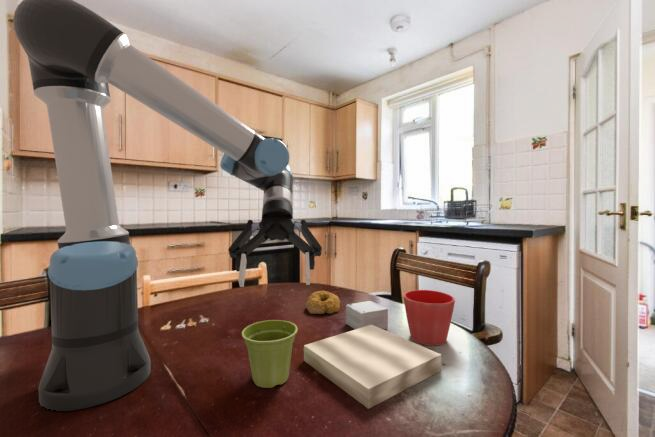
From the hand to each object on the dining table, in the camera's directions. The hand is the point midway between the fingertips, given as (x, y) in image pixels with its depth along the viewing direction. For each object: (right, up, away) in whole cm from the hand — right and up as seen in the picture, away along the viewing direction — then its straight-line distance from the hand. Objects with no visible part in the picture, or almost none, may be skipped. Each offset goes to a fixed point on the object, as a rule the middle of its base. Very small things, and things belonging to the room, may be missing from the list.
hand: (274, 282), depth 64 cm
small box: (+21, -14, +14) cm, 29 cm away
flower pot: (+34, -14, +7) cm, 37 cm away
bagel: (+10, -14, +27) cm, 32 cm away
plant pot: (+1, -15, -10) cm, 18 cm away
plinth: (+19, -14, -5) cm, 24 cm away
